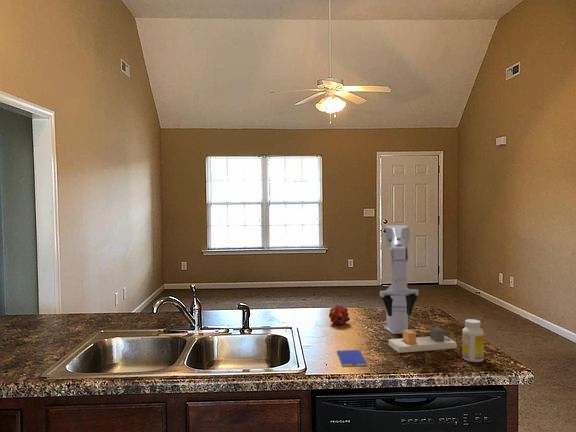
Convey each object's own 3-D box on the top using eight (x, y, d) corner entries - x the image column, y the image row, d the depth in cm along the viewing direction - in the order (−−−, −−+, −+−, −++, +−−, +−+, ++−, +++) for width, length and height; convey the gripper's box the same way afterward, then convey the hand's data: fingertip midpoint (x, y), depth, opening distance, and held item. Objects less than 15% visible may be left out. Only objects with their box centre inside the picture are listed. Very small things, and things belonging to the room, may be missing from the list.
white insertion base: (388, 344, 167) (388, 328, 167) (443, 340, 171) (443, 324, 171) (399, 352, 158) (398, 335, 158) (456, 348, 162) (456, 331, 162)
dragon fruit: (340, 323, 203) (341, 335, 191) (324, 312, 203) (324, 323, 191) (351, 308, 201) (353, 319, 190) (336, 298, 201) (336, 308, 189)
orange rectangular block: (402, 346, 165) (402, 329, 165) (410, 345, 166) (410, 329, 166) (408, 350, 161) (408, 333, 161) (416, 349, 161) (416, 332, 161)
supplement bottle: (485, 357, 152) (485, 319, 151) (482, 364, 146) (482, 324, 146) (464, 354, 155) (464, 317, 155) (460, 360, 149) (460, 322, 149)
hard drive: (336, 350, 158) (341, 363, 146) (359, 349, 159) (367, 362, 146) (336, 354, 159) (341, 367, 146) (359, 354, 159) (367, 367, 146)
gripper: (385, 281, 163) (385, 318, 163) (422, 279, 166) (422, 316, 166) (377, 278, 170) (377, 314, 170) (413, 276, 173) (413, 312, 173)
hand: (399, 315), depth 169 cm, fingers open, 7 cm apart
